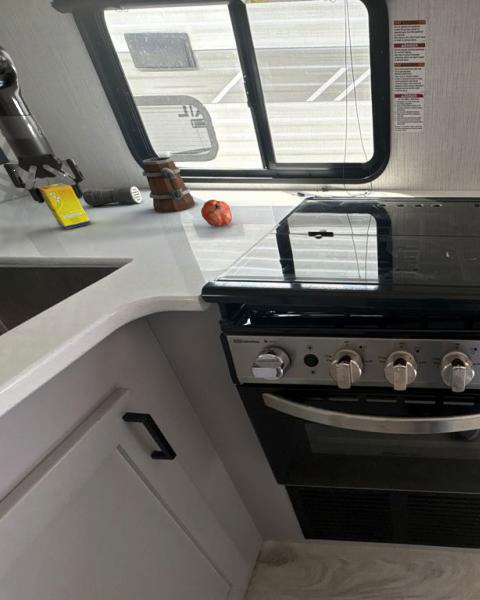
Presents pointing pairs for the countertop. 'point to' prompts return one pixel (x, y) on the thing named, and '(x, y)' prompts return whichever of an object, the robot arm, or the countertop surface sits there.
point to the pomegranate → (216, 213)
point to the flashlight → (112, 196)
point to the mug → (166, 185)
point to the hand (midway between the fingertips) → (61, 200)
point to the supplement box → (64, 205)
